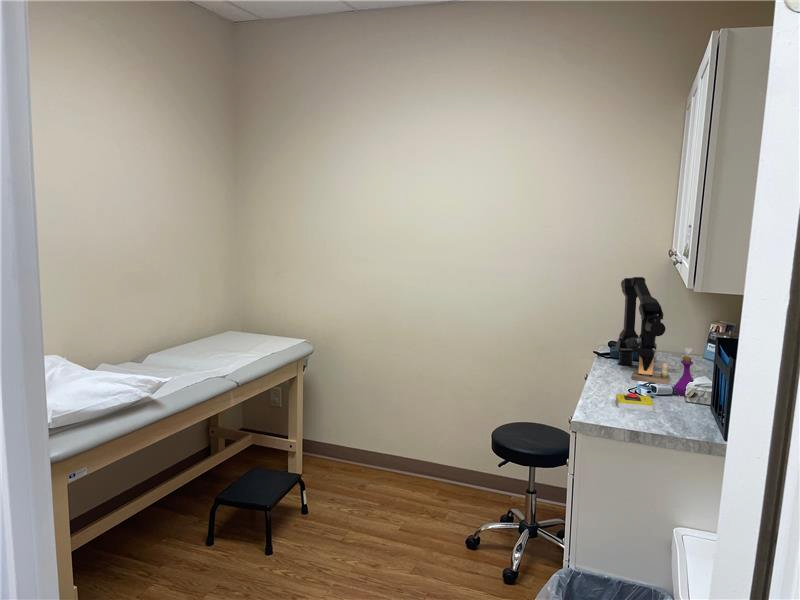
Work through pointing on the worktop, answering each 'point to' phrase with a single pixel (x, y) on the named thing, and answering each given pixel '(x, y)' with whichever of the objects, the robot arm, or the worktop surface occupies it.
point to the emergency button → (634, 402)
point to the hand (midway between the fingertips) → (645, 369)
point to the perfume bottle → (684, 374)
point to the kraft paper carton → (641, 368)
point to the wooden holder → (654, 375)
